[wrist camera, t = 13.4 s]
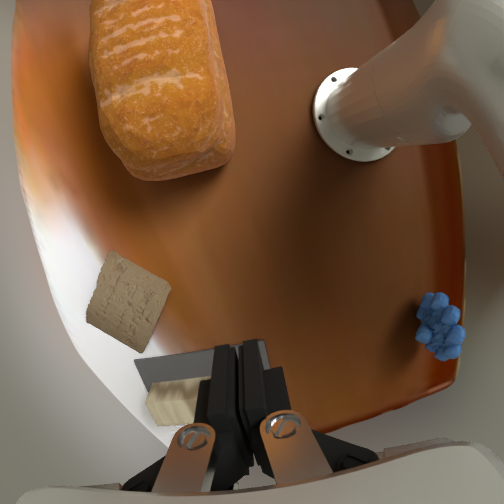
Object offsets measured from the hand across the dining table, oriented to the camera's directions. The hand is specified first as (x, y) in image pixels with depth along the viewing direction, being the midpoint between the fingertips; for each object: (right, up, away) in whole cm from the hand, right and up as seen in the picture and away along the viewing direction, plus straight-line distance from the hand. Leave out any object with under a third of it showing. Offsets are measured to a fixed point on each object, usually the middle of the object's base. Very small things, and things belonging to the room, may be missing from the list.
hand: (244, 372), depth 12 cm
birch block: (-3, -16, +31) cm, 35 cm away
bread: (-10, +27, +23) cm, 37 cm away
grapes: (+26, -5, +33) cm, 42 cm away
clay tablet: (-17, -3, +31) cm, 36 cm away
